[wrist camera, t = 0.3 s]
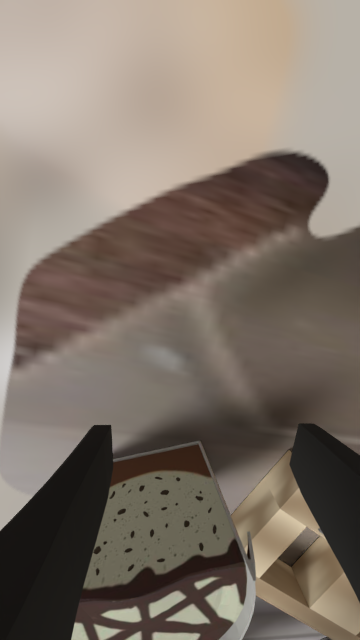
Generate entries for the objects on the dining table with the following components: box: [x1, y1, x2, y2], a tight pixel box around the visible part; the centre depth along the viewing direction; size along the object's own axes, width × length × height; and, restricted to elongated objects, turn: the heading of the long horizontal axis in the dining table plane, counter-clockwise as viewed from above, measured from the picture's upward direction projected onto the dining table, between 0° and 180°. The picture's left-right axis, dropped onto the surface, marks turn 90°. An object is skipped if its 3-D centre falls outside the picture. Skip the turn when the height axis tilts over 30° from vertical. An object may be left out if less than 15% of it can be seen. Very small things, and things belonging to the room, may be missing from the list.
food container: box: [71, 441, 256, 640], centre depth 16 cm, size 12×6×10 cm, turn 100°
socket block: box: [231, 450, 360, 640], centre depth 22 cm, size 11×24×3 cm, turn 52°
